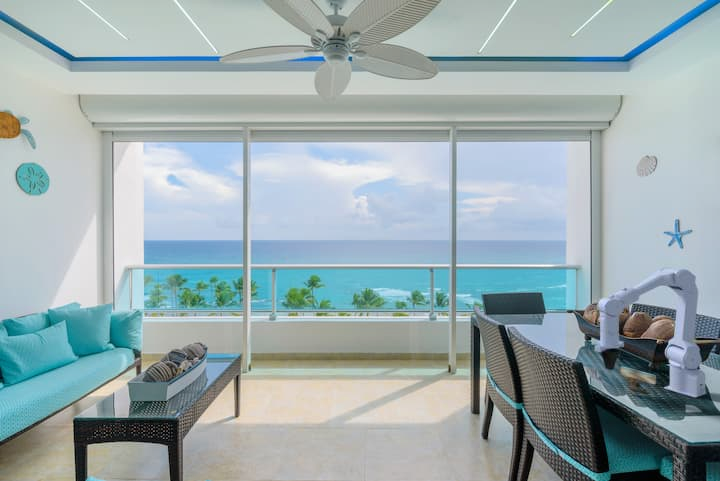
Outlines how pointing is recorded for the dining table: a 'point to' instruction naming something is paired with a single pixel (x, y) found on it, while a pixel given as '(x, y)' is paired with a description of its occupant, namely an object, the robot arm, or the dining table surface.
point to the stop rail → (638, 375)
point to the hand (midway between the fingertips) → (609, 369)
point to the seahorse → (633, 384)
